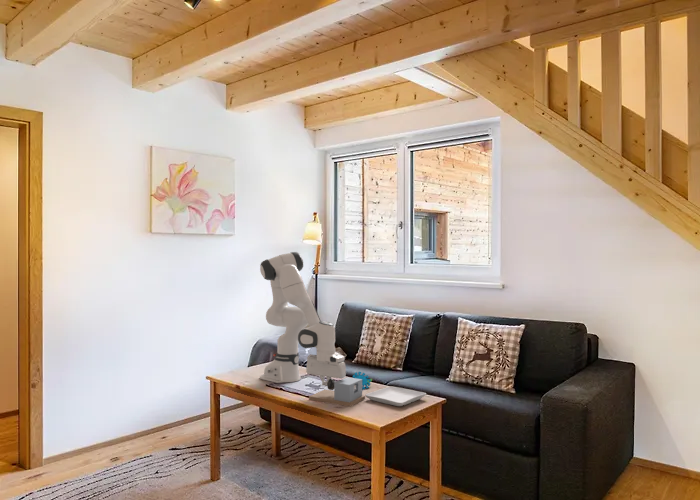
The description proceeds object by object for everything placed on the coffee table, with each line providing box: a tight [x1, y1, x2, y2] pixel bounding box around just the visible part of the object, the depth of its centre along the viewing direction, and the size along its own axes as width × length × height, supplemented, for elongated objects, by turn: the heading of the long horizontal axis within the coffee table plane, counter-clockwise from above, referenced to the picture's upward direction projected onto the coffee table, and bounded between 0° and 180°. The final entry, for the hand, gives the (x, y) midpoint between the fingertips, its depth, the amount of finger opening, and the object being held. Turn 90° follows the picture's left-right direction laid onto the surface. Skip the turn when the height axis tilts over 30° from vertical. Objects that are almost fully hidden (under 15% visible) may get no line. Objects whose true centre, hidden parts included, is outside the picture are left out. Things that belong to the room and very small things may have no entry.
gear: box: [351, 371, 373, 390], centre depth 269 cm, size 11×6×10 cm
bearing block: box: [308, 376, 366, 407], centre depth 246 cm, size 22×14×9 cm, turn 61°
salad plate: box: [364, 385, 427, 407], centre depth 246 cm, size 21×21×3 cm
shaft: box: [326, 378, 357, 391], centre depth 245 cm, size 14×5×5 cm, turn 61°
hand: (325, 385), depth 249 cm, fingers closed
